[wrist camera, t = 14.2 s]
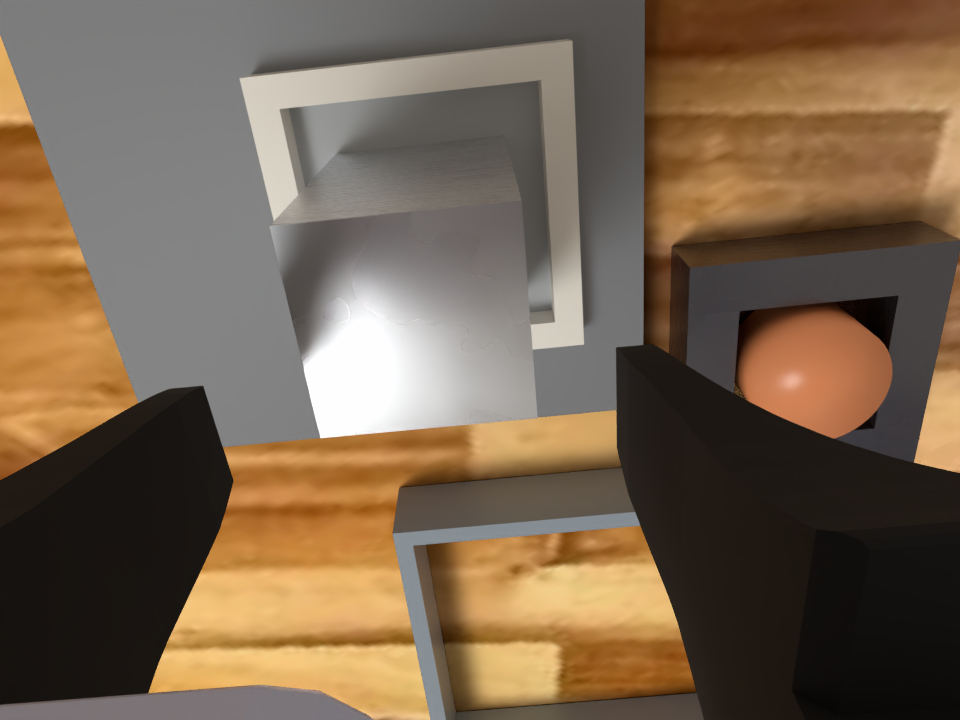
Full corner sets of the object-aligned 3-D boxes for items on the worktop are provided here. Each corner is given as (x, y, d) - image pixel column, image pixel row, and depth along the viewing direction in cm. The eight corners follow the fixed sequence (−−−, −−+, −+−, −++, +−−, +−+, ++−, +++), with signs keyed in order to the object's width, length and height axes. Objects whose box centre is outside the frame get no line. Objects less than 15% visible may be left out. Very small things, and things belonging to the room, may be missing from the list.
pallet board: (632, -101, 17) (655, -117, 15) (633, 384, 24) (650, 423, 22) (12, -27, 18) (-52, -32, 16) (174, 428, 24) (144, 471, 22)
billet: (504, 135, 18) (521, 199, 12) (516, 293, 20) (537, 418, 14) (336, 152, 19) (269, 226, 12) (365, 308, 21) (320, 438, 14)
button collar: (920, 220, 21) (962, 240, 20) (881, 430, 25) (913, 462, 23) (671, 246, 22) (689, 267, 20) (667, 449, 25) (682, 483, 23)
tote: (761, 454, 25) (789, 498, 23) (737, 698, 31) (758, 751, 29) (399, 487, 26) (392, 533, 23) (444, 722, 32) (442, 776, 29)
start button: (860, 287, 22) (903, 317, 20) (843, 397, 24) (880, 436, 21) (731, 300, 22) (760, 331, 20) (724, 409, 24) (749, 448, 22)
